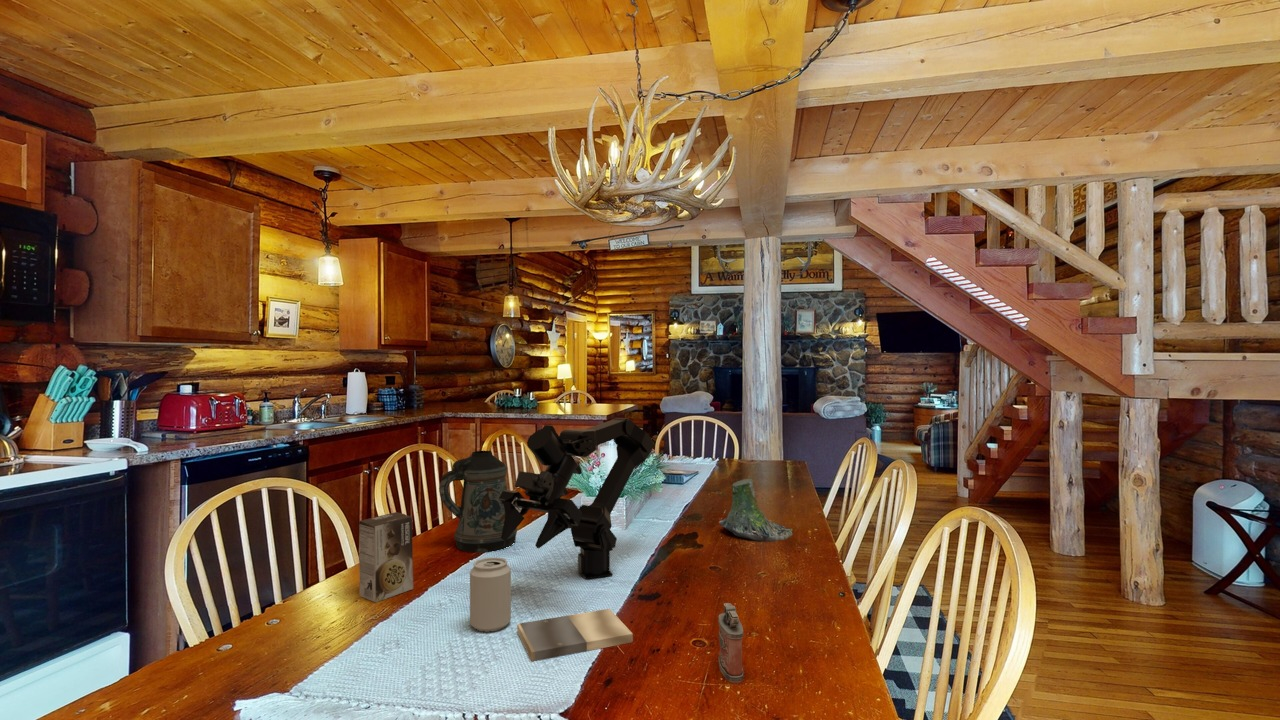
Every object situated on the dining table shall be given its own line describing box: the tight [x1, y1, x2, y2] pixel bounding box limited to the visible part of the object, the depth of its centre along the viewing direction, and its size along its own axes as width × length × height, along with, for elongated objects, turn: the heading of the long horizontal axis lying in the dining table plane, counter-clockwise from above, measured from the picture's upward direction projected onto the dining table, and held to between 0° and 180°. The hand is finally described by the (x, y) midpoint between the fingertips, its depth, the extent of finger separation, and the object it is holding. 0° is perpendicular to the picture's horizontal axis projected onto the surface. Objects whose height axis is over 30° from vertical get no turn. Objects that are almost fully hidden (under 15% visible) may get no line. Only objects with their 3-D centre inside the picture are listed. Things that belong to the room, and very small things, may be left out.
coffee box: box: [358, 511, 414, 603], centre depth 134 cm, size 9×6×16 cm
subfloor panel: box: [516, 608, 634, 662], centre depth 112 cm, size 18×12×2 cm, turn 113°
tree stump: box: [718, 478, 794, 542], centre depth 179 cm, size 18×20×18 cm
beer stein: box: [438, 450, 518, 554], centre depth 168 cm, size 16×19×25 cm
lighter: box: [718, 602, 744, 683], centre depth 101 cm, size 8×3×10 cm, turn 5°
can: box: [469, 556, 512, 633], centre depth 117 cm, size 8×8×12 cm
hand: (519, 543), depth 124 cm, fingers open, 9 cm apart
